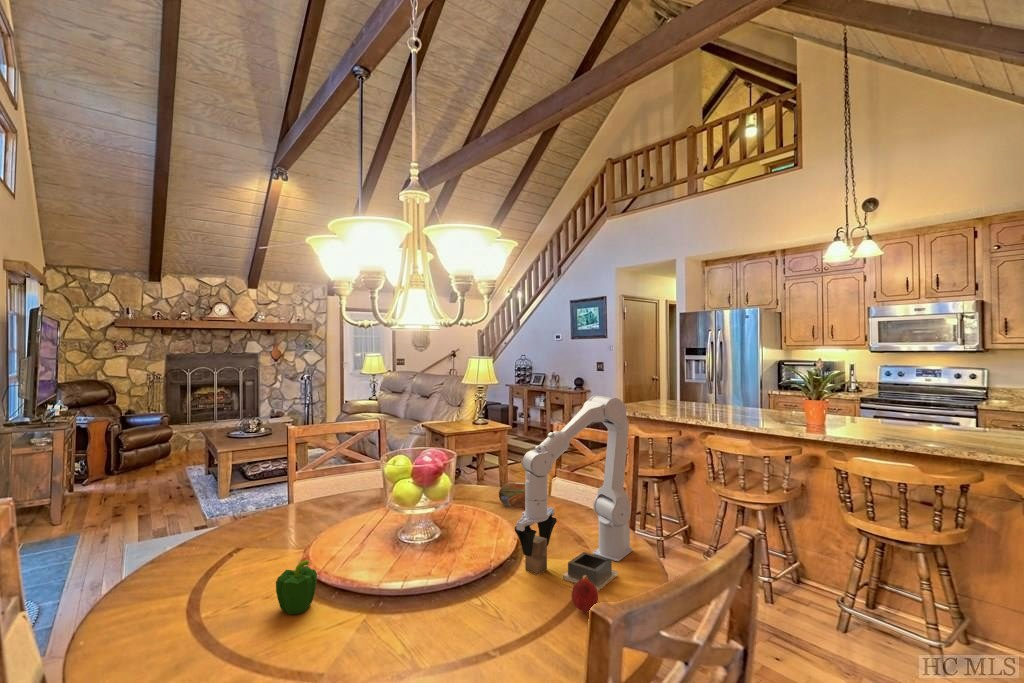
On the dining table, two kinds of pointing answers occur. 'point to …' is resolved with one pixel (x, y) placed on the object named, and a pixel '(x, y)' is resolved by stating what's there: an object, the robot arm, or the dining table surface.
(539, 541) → the rail post
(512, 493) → the tin
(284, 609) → the bell pepper
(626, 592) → the dining table surface
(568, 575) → the grey square socket
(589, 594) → the onion
